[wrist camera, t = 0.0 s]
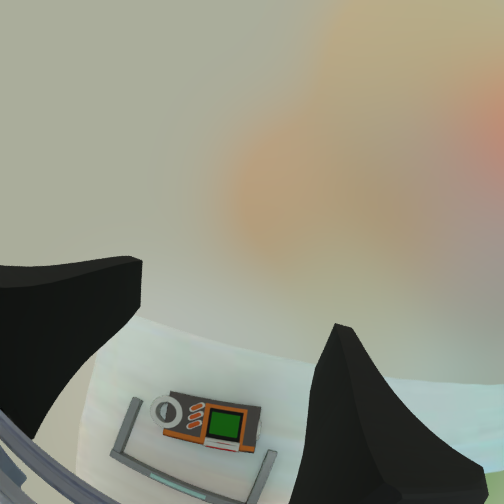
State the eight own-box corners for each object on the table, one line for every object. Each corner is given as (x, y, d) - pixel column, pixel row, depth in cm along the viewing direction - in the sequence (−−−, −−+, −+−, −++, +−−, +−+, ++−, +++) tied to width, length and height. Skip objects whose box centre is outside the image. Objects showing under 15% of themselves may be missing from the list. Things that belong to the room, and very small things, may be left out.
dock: (251, 511, 28) (251, 516, 27) (113, 454, 32) (108, 455, 30) (276, 451, 33) (277, 453, 32) (136, 397, 37) (131, 396, 35)
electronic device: (153, 386, 36) (263, 407, 34) (160, 388, 38) (263, 407, 37) (145, 431, 32) (256, 455, 31) (153, 430, 35) (257, 452, 33)
